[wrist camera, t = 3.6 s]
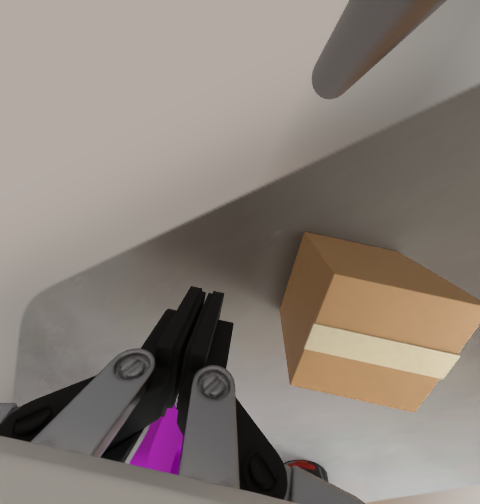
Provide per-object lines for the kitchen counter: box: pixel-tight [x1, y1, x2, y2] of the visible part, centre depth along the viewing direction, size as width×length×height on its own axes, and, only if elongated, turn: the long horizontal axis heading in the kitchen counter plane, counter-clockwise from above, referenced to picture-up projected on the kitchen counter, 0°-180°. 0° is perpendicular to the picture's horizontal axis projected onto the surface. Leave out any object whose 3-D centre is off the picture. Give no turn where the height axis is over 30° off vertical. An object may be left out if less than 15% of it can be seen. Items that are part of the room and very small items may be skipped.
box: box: [280, 232, 480, 412], centre depth 14 cm, size 7×7×7 cm
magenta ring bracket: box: [129, 406, 183, 475], centre depth 24 cm, size 16×10×6 cm, turn 113°
